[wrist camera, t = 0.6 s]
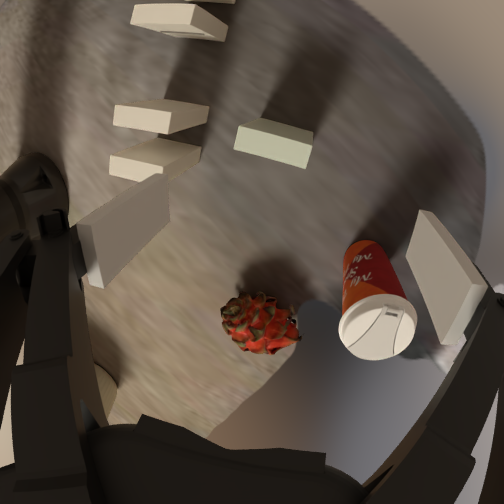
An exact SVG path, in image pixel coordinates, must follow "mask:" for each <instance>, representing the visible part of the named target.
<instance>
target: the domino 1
mask: <svg viewBox="0 0 504 504" xmlns="http://www.w3.org/2000/svg"><path fill="white" fill-rule="evenodd" d="M130 24H133V25H137V26H140V27H144V28H148V29H151V30H155V31H158V32H161V33H165V34H168V35H171V36H174V37H181V38H194V39H205V40H214V41H222V42H225V38H226V34H227V30H228V26H227V25H226V24H224V23H223V22H222V21H220V20H219V19H217V18H216V17H214V16H213V15H211V14H210V13H208V12H207V11H205V10H204V9H202V8H201V7H199V6H198V5H196V4H140V5H135V7H134V11H133V15H132V19H131V23H130Z"/></svg>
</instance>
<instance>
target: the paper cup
mask: <svg viewBox="0 0 504 504" xmlns="http://www.w3.org/2000/svg"><path fill="white" fill-rule="evenodd" d="M416 324H417V314H416V311H415V309H414V307H413V306H412V304H411V303H410V302H409V301H408V300H407V298H406V296H405V293H404V291H403V289H402V286H401V284H400V282H399V280H398V278H397V275H396V273H395V271H394V269H393V267H392V265H391V263H390V261H389V259H388V257H387V255H386V253H385V251H384V250H383V248H382V247H381V246H380V245H379V244H378V243H376V242H374V241H371V240H362V241H358V242H356V243H354V244H352V245H351V246H350V247H349V248H348V249H347V251H346V253H345V256H344V262H343V312H342V318H341V320H340V324H339V335H340V338H341V340H342V342H343V343H344V344H345V346H346V348H347V349H348V350H349V351H350V352H351V353H352V354H354V355H355V356H357V357H359V358H362V359H366V360H382V359H386V358H389V357H392V356H395V355H397V354H398V353H400V352H401V351H403V350H404V349H405V348H406V347H407V346H408V345H409V344H410V342H411V340H412V338H413V336H414V333H415V328H416Z"/></svg>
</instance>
